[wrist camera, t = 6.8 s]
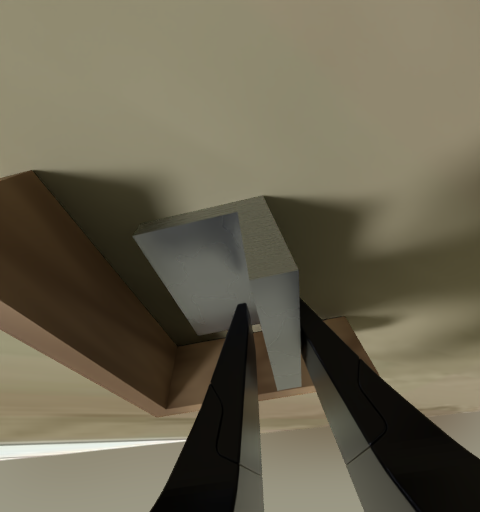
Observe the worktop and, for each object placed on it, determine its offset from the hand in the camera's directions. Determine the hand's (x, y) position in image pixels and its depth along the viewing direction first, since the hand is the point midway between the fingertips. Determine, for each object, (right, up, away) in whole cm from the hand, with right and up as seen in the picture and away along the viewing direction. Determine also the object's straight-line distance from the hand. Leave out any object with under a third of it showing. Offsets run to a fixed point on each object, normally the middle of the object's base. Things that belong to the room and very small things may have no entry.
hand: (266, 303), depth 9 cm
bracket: (-2, +1, +2) cm, 3 cm away
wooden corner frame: (-2, +1, +2) cm, 3 cm away
